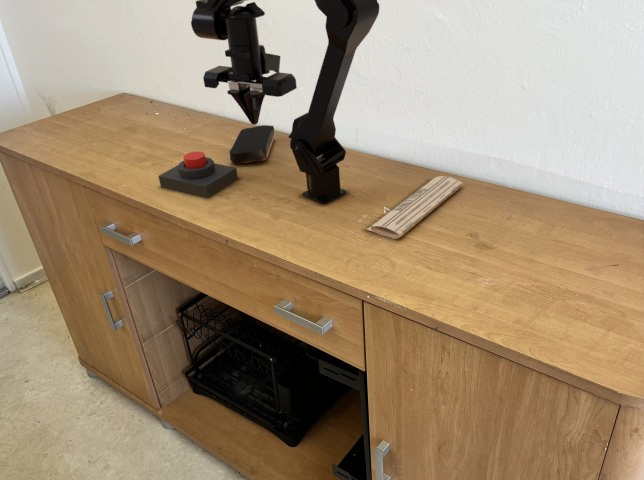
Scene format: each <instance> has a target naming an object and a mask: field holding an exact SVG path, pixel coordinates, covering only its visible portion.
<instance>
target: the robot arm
mask: <svg viewBox="0 0 644 480" xmlns="http://www.w3.org/2000/svg"><path fill="white" fill-rule="evenodd" d="M246 1H248V0H195V7H196V8H195V9H194V10H193V11H192V15H191V21H190V24H191V25H190V26H191V29H192V31H193V33H194V34H195V36H196V37H198V38H201V39H207V40H208V39H209V40H216V41H226V40H227V45H228V49H226V50H224V55H225V57H226V58H230V64H231V66H228V65H227V66H226V65H218V66H215V67H212V68H211V69H208V70H206V71H205V72H204V75H203V77H202V79H203V84H204V88H209V89H217V88H218V86H219V85H220V83H227V84H228V88H229V89H228V90H227V91H226V92H227V95H230V96H231V98H233V100H234V101H235V102H236V104H237V105H238V106H239V107H240V109H241V110H242V112H243V113H244V115H245V117H246V118H247V119H248V122H249V123H250V124H251V125H254V126H255V125H256V126H257V124H258V123H259V120H260V115H261V110H262V106H263V102H264V99H265V97H266V96H269V97H276V98H278V97H283V96H285V95H287V94H289V93H290V92H292V91H295V90H296V89H298V87H297V86H298V85H297V79H296V76H295V75H294V74H293V73H290V72H289V73H287V72H280V68H281V55H278V54H273V53H268V52H266V48H265V46H264V45H263V44H260V40H259V32H258V25H257V19H258V18H261V17H264V16H265V15H266V13H265V11H264V10H263V9H262V8H261V7H259V6H258V4H257V3H256V2H255V1H252V2H249V3H246V4H245V5H242V4H243V3H245V2H246ZM314 3H315V5H316V7H317V9H318V10H319V11H320V12H321V13H322V14H323V15H324V16H325V18H326V19H325V24H324V25H325V26H324V27H325V31H326V36H327V46H326V51H325V53H324V56H323V60H322V63H321V67H320V71H319V73H318V74H319V75H318V77H317V81H316V84H315V87H314V91H313V95H312V97H311V102H310V104H309V107H308V111H307V112H306V113H304V114H302V115H300V116H298V117H296V118H295V119H293V121H292V126H291V127H292V128H291V132H290V134H289V135H288V139H290V140H289V148H290V150H291V151H292V155H293V156H294V159H295V162H296V164H297V167H298V170H299V172H301V173H304V174H305V180H306V189H307V190H306V191H303V192H302V196H303V197H305V198H307V199H309V200H312V201H314V202H316V203H319V204H322V205H326V204H328V203H330V202H332V201H334V200H337V199H338V198H340V197H342V196H344V195H346V194H347V190H346V189H343V188H341V175H340V174H341V173H340V166H338V164H339V163H340V162H343V161H344V160H345V158H346V154H347V151H346V149H345V148H344V147H343V145H342V144H341V143H340V142H339V140H338V139H337V138H336V132H337V129H336V124H335V120H334V117H335V114H336V111H337V108H338V104H339V102H340V99H341V96H342V93H343V90H344V87H345V84H346V81H347V77H348V75H349V71H350V68H351V66H352V63H353V60H354V56H355V53H356V50H357V49H358V48H359V46H360V44H361V43H362V42H363V41H364V39H365V38H366V37H367V36H368V34H369V33H370V32H371V29H372V27H373V26H374V24H375V22H376V21H377V19H378V16H379V14H380V4H379V2H378V0H314ZM271 71H272V72H274V73H273V74H271V75H268V74H270V73H271ZM264 75H268V76H264Z"/></svg>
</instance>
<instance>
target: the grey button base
mask: <svg viewBox="0 0 644 480" xmlns="http://www.w3.org/2000/svg"><path fill="white" fill-rule="evenodd" d="M205 158H206V163H207V164H206V165H205V166H203V167H201V168H197V169H189V168H186V167H185V162H184V160H182V161H180V162H179V163H178V164H177V165H175V166H174V167H171V168H170V169H168V170H166V171H165V172H163V173H161V174H159V175H158V180H159V184H160V188H162V189H165V190H170V191H175V192H179V193H184V194H188V195H192V196H196V197H199V198H200V197H201V198H205V199H210V198H211V197H213V196H214V195H215V194H217V193H218V192H220V191H221V190H223V189H225V188H227V187H228V186H230V185H231V184H233V183H235V182H236V181H237V180H239V177H238V176H239V175H238V170H237V167H236V166H235V167H234V166H229V165H224V164H220V163H215V161H214V160H213V159H212V158H211V157H207V156H205Z"/></svg>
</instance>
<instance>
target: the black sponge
mask: <svg viewBox="0 0 644 480" xmlns="http://www.w3.org/2000/svg"><path fill="white" fill-rule="evenodd" d="M274 140H275V127H274V125H266V124H265V125H263V124H262V125H256V126H253V127H245V128H243V129H241V130H240V131H239V133H238V135H237V137H236V138H235V141H234V143H233V145H232V147H231V149H230V150H229V159H230V161H231V163H232V164H234V165H238V164H246V163H253V162H261V161H265V160H267V159H268V156H269V153H270V151H271V148H272V145H273V142H274Z"/></svg>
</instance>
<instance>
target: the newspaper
mask: <svg viewBox="0 0 644 480" xmlns="http://www.w3.org/2000/svg"><path fill="white" fill-rule="evenodd" d="M463 186H464V184H463V182H462V181H460V180H459V179H456V178H453V177H451V176H444V175H440V176H435V177H434V178H432V179H431V180H430V181H428V182H427V183H425V184H424V185H423V186H421V187H420V188H419V189H418V190H416V191H415V192H414V193H412V194H411V195H410V196H408V197H407V198H406V199H405V200H403V201H402V202H401V203H399V204H398V205H397V206H396V207H394V208H392V209H391V210H390V211H388V212H387V213H386V214H385V215H384V216H382V217H381V218H380V219H378V220H377V221H376V222H375V223H373V224H372V225H371V226H369V227H368V228H366V231H370V232H372V233H375V234H377V235H380V236H382V237H386V238H390V239H397V240H398V239H400V238H401V237H403V236H404V235H405V234H406V233H407V232H408V231H410V230H411V229H412V228H413V227H415V225H417V224H418V223H420V222H421V221H422V220H423V219H424V218H425V217H427V216H428V215H429V214H430V213H431V212H432V211H434V210H435V209H436V208H437V207H438V206H440V205H441V204H442V203H443V202H445V200H447V199H449V198H450V197H451V196H452V195H453V194H454V193H456V192H457V191H458V190H459V189H460V188H461V187H463Z"/></svg>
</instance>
